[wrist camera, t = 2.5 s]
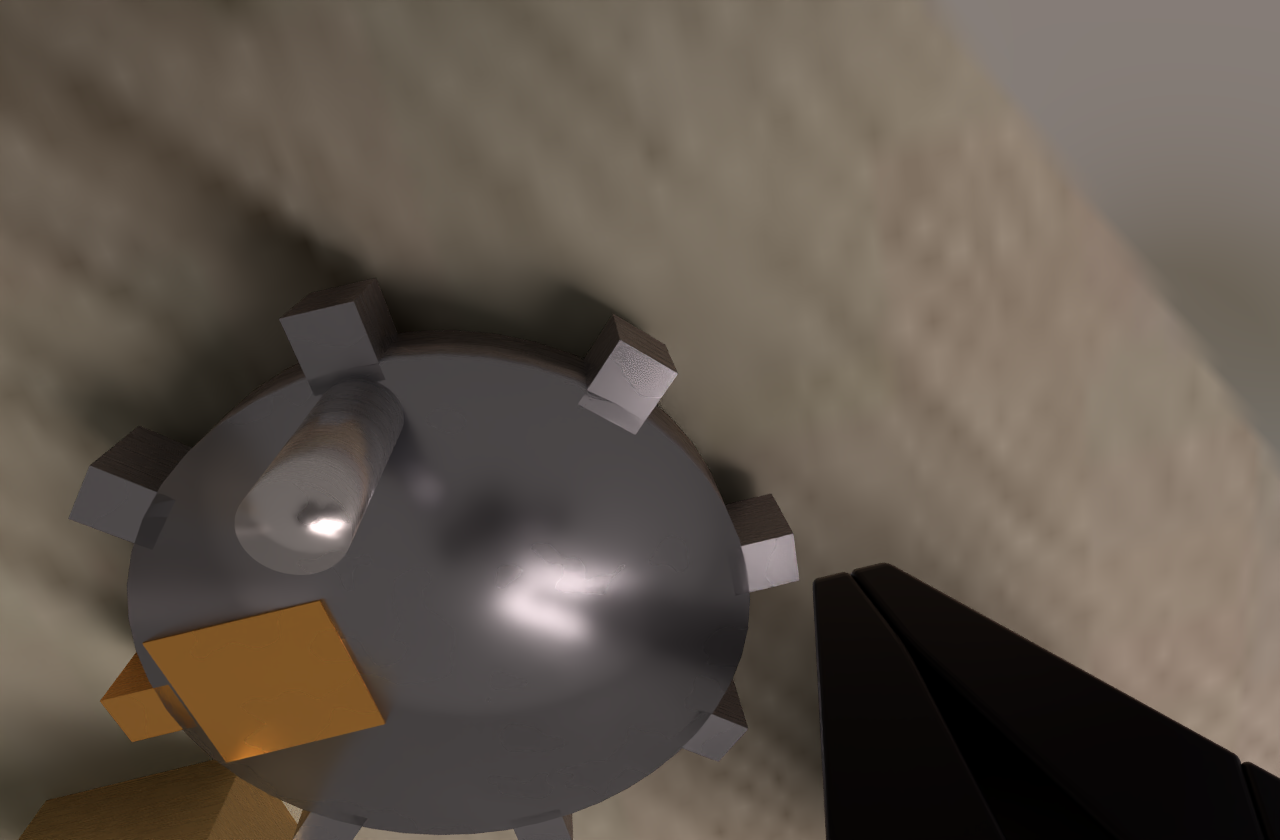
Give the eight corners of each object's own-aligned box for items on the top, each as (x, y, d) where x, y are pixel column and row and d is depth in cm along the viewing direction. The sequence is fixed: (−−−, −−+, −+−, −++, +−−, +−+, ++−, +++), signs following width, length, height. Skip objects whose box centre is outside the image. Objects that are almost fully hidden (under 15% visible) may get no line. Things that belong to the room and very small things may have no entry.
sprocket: (727, 194, 14) (827, 253, 9) (805, 729, 22) (885, 931, 16) (-49, 377, 14) (-394, 541, 9) (290, 856, 21) (206, 1101, 16)
